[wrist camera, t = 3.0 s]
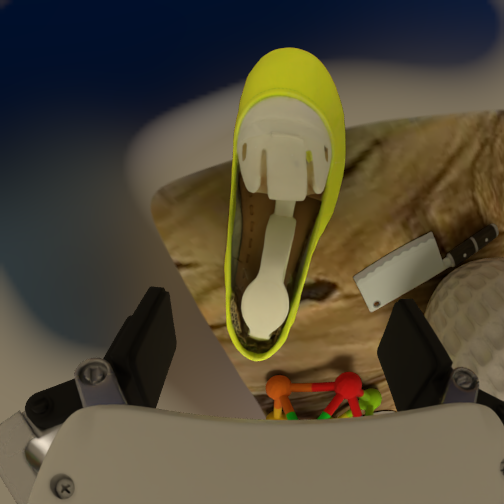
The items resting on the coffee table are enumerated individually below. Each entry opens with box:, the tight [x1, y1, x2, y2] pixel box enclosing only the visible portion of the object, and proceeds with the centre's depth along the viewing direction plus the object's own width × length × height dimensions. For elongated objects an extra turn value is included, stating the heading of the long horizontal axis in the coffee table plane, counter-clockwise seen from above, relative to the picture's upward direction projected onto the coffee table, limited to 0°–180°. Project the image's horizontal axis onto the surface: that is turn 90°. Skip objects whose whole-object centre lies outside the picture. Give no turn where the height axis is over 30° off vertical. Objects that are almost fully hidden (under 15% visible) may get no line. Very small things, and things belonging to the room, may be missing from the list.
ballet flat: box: [224, 48, 346, 361], centre depth 19 cm, size 8×24×8 cm, turn 173°
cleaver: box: [353, 224, 498, 312], centre depth 23 cm, size 17×1×5 cm
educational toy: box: [266, 372, 382, 420], centre depth 29 cm, size 16×13×15 cm
